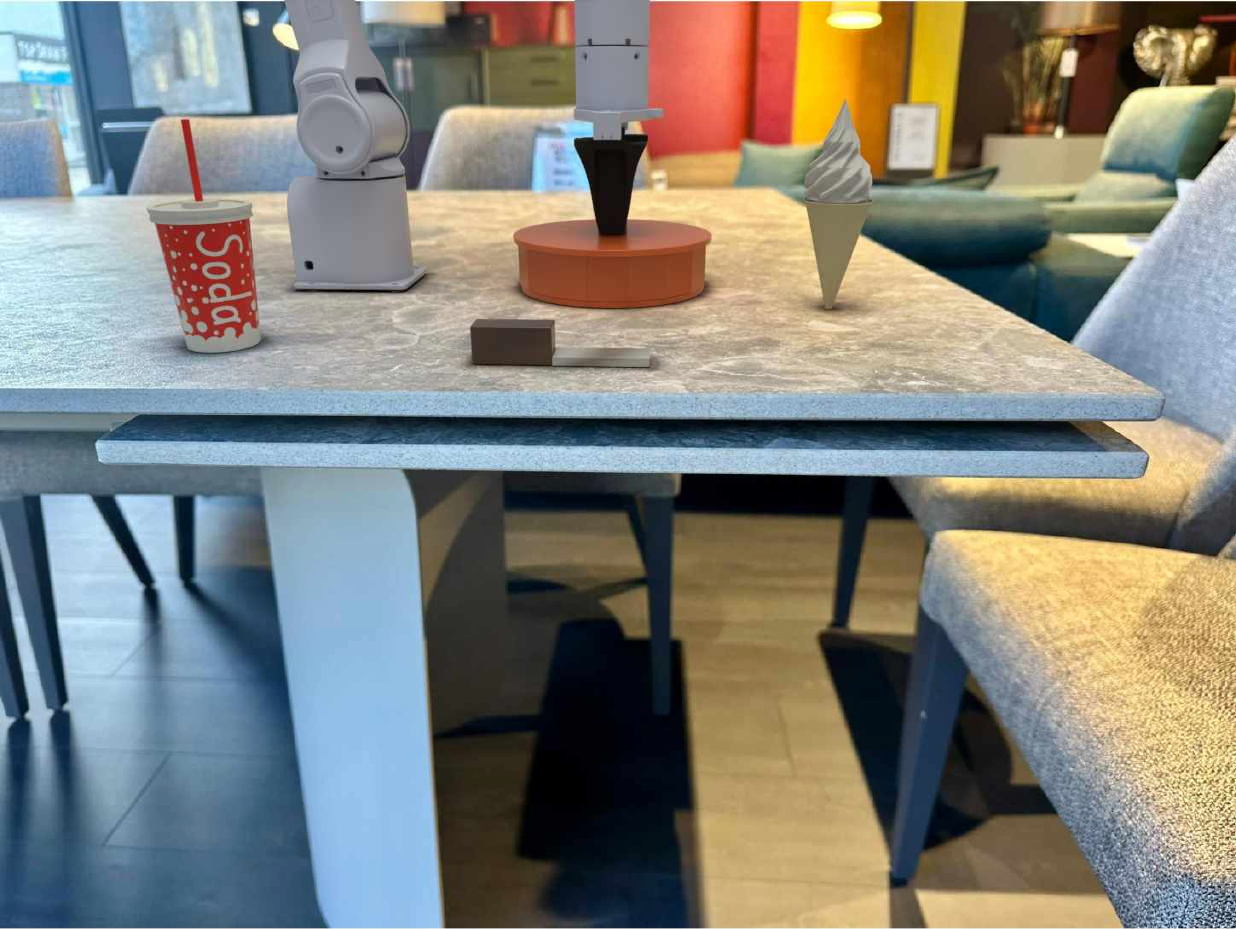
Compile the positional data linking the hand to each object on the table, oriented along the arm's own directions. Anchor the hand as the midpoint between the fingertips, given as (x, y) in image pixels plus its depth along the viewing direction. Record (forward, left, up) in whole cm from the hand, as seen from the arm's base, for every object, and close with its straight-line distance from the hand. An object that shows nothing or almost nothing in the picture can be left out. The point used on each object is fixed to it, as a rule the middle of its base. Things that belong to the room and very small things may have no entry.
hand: (612, 228), depth 75 cm
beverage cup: (-25, -19, -5) cm, 32 cm away
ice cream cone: (+17, -7, -5) cm, 19 cm away
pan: (0, 0, -5) cm, 5 cm away
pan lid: (0, 0, -1) cm, 1 cm away
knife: (-2, -22, -5) cm, 23 cm away
